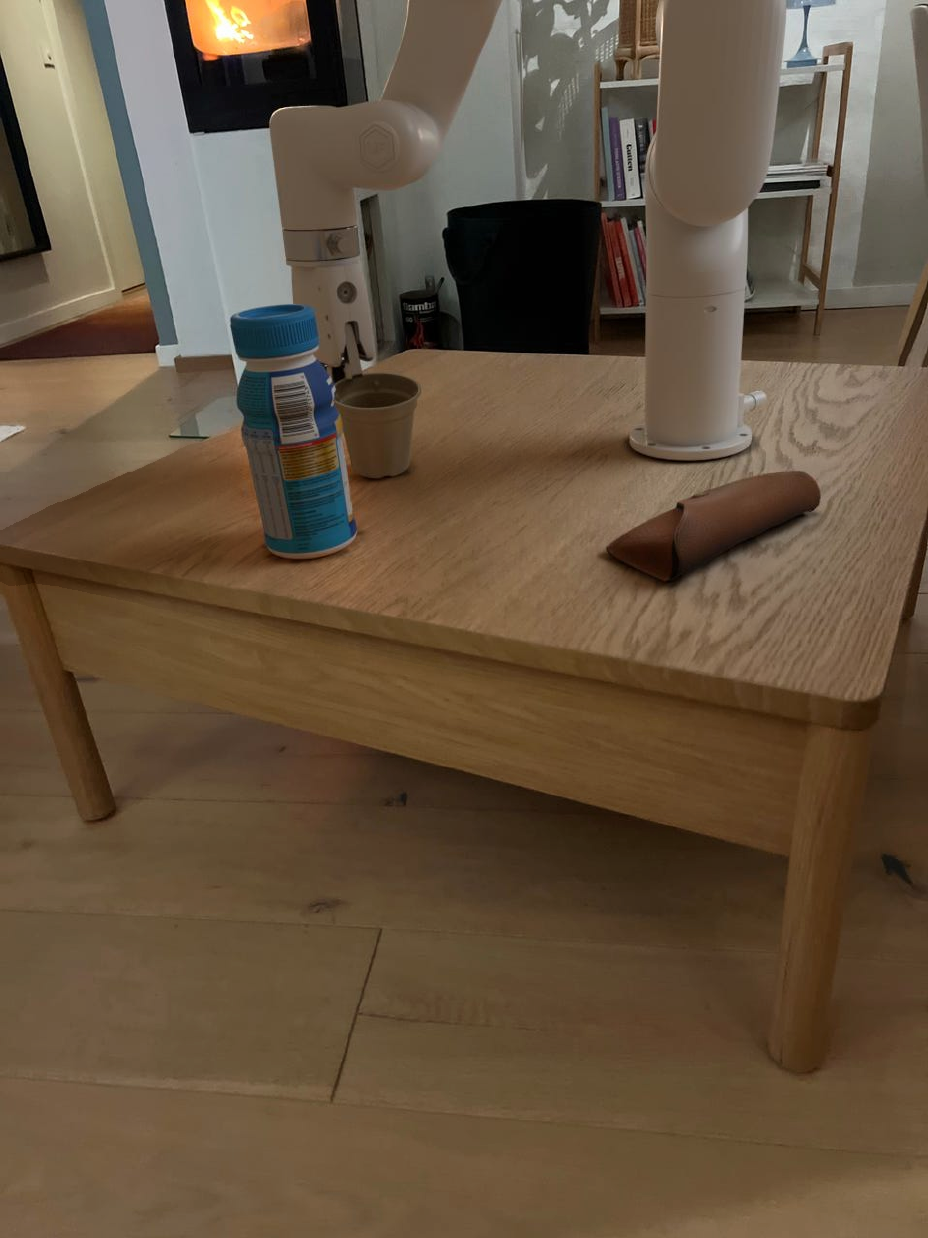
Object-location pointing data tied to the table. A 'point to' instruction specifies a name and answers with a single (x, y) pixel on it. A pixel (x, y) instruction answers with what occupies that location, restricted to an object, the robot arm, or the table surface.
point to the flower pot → (378, 421)
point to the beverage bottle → (292, 433)
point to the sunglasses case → (714, 523)
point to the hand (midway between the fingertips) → (341, 424)
